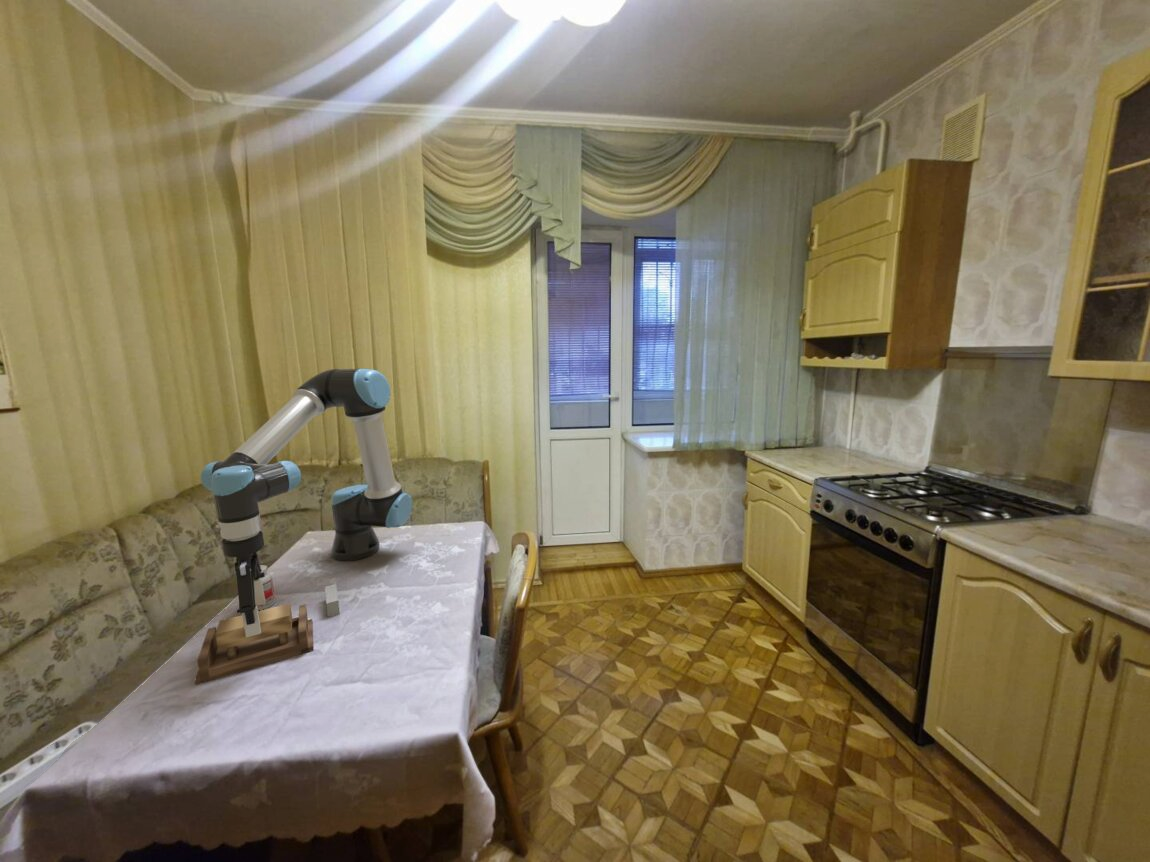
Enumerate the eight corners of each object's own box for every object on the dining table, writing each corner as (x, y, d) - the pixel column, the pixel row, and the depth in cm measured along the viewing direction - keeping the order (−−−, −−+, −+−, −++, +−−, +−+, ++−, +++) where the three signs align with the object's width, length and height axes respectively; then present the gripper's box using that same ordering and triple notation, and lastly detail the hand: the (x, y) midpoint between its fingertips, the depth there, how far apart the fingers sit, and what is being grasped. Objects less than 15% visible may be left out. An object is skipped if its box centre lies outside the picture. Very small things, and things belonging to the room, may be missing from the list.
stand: (326, 599, 130) (324, 586, 129) (337, 596, 132) (336, 584, 131) (328, 617, 122) (326, 603, 121) (339, 614, 123) (338, 600, 122)
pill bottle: (254, 601, 130) (249, 565, 128) (278, 598, 131) (273, 562, 129) (245, 613, 124) (239, 575, 122) (270, 610, 125) (265, 572, 123)
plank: (292, 617, 114) (290, 603, 113) (291, 630, 109) (289, 615, 108) (222, 636, 107) (219, 620, 106) (218, 650, 102) (215, 634, 101)
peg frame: (206, 650, 109) (202, 630, 108) (312, 622, 120) (310, 603, 119) (195, 685, 98) (191, 662, 97) (313, 650, 108) (310, 629, 107)
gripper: (229, 519, 112) (242, 598, 116) (211, 561, 91) (229, 655, 95) (265, 513, 116) (277, 590, 120) (257, 552, 94) (272, 643, 99)
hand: (256, 619), depth 107 cm, fingers open, 13 cm apart
